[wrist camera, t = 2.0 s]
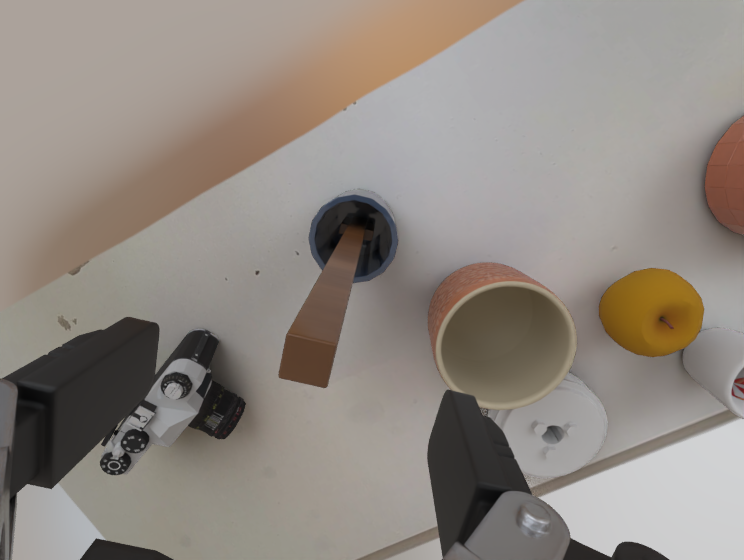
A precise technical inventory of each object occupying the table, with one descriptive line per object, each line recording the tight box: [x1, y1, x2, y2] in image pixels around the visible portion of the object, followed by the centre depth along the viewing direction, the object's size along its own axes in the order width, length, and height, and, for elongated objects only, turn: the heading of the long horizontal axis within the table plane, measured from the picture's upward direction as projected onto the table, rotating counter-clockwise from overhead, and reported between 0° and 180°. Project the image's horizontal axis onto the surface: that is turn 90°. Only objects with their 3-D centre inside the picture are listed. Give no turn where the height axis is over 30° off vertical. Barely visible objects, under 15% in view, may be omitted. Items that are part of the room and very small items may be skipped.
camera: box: [100, 328, 246, 475], centre depth 46 cm, size 15×11×10 cm
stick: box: [279, 216, 375, 388], centre depth 28 cm, size 2×3×32 cm, turn 77°
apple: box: [599, 268, 704, 357], centre depth 42 cm, size 9×8×9 cm
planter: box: [428, 263, 577, 410], centre depth 41 cm, size 12×12×11 cm
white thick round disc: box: [488, 373, 608, 478], centre depth 47 cm, size 13×13×5 cm
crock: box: [309, 189, 398, 283], centre depth 40 cm, size 7×7×10 cm
